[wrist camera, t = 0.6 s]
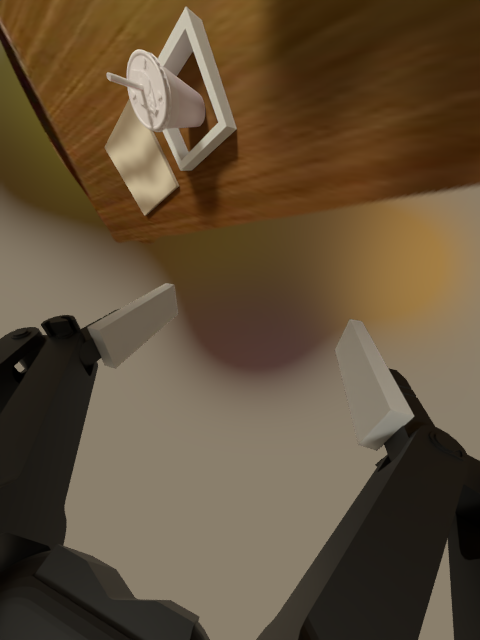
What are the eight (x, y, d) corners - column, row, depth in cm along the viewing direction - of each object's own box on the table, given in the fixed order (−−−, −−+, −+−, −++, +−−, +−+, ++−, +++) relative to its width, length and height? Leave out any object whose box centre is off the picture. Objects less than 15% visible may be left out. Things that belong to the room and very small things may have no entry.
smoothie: (194, 61, 26) (94, 0, 16) (219, 114, 28) (144, 87, 18) (173, 106, 30) (84, 78, 20) (196, 149, 32) (125, 141, 22)
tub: (157, 92, 30) (142, 87, 28) (201, 20, 23) (185, 6, 21) (191, 170, 34) (180, 170, 32) (236, 128, 28) (226, 126, 26)
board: (108, 147, 40) (104, 147, 39) (135, 95, 31) (131, 93, 31) (147, 214, 46) (144, 215, 45) (179, 185, 37) (176, 186, 37)
